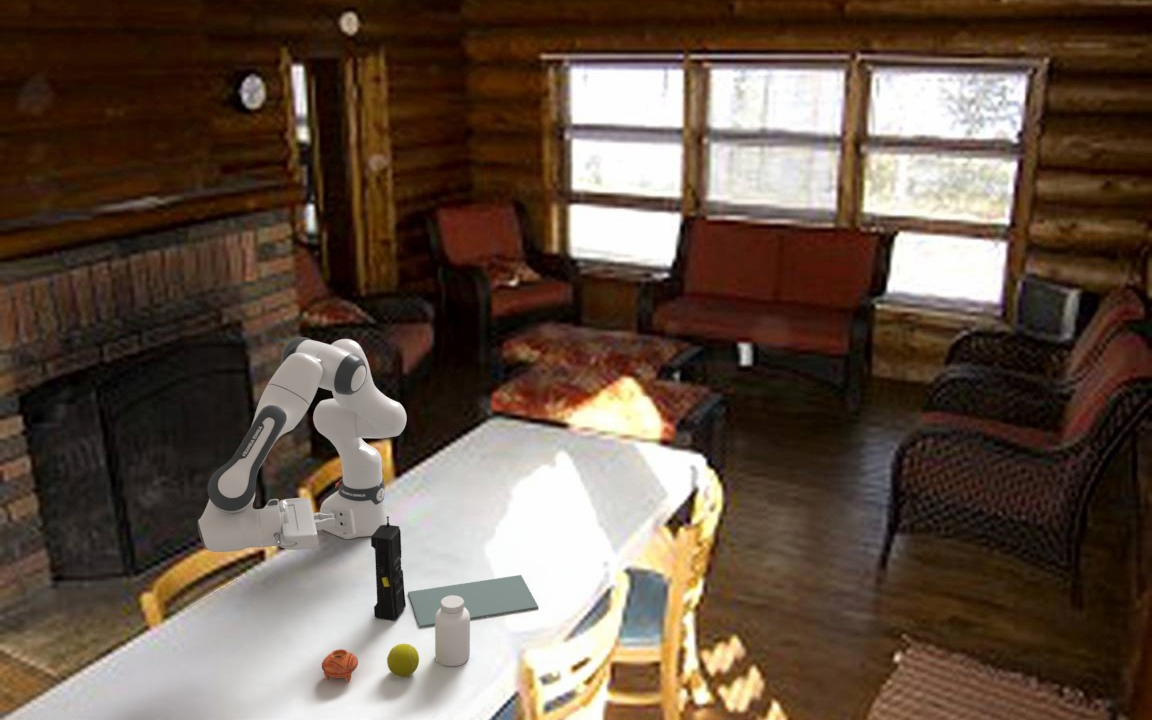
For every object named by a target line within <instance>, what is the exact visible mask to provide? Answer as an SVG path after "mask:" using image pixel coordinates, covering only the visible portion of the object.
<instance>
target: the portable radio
mask: <svg viewBox="0 0 1152 720" xmlns="http://www.w3.org/2000/svg"><path fill="white" fill-rule="evenodd" d="M386 518H387V525H380V526H379V528H378V529H377V530H376V531H375V533H374V534H373V535H371V536H370V546H371V547H372V548H373V549H374V560H375V578H376V579H375V580H376V581H375V583H376V604H375V605H374V606H373V615H374V618H375V619H379V620H384V621H392V622H394V621H396V620H398V619H399V617H400V616H401V614H402V613H403V612H404V610H405V608H406V607H407V602H406V595H405V594H406V593H405V582H404V571H403V569H402V536H401V535H402V534H401V529H400V526H399V525H391V522H390V523H389V521H390V519H389V518H390V516H388V515H387V517H386Z"/></svg>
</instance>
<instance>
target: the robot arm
mask: <svg viewBox="0 0 1152 720" xmlns="http://www.w3.org/2000/svg"><path fill="white" fill-rule="evenodd" d="M280 358H281V359H280V362H281V364H280V366H279V367H278V368H277V370H276V371H274V372H275V373H274V374H273V375H272V377H271V378H270V380H269V382H268V383H267V384H266V387H265V389H264V390H263V393H262V394H261V397H260V400H259V401H258V405H257V406H256V411H255V413H254V417H253V420H252V423H251V426H250V428H249V430H248V431H247V433H246V435H245V436H244V438H243V440H242V441H241V443H240V445H239V446H238V448H237V450H236V451H235V453H234V454H233V456H231V458H230V460H228V461H227V463H224V464H223V465H221V466H220V467H219V468H218V469H217V470H215V471H214V473H213V474H212V475H211V477H210V478H209V481H208V484H207V495H208V497H209V498H208V502H207V503H206V507H205V509H204V511H203V512H202V515H201V517H200V518H199V519H198V520H197V528H198V529H197V530H198V534H199V538H200V541H201V544H202V545H203V548H205V550H207V551H208V552H211V553H231V552H240V551H243V550H246V549H249V548H257V549H261V548H271V547H280V548H282V549H286V550H287V551H288V550H289V551H300V550H301V551H302V550H303V551H304V550H312V549H315V548H317V547H318V546H319V538H318V537H319V535H318V531H325V532H327V533H329V534H332V535H335V536H337V537H340V538H342V539H344V540H351V539H355V538H361V537H363V538H364V537H371V536H372V535H373V534H374V533H375V531H376V530H377V529H378V528H379V526H380V525H387V518H386V517H387V516H388V513H387V509H386V505H385V503H386V502H385V479H384V477H383V461H382V460H383V457H382V456H381V453H380V452H379V451H378V449H376V448H375V447H374V446H372V445H371V444H368V443H366V442H365V441H364V440H363V439H388V438H393V437H397V436H400V435H401V433H402V432H403V431H404V429H405V427H406V425H407V417H408V416H407V413H406V409H405V408H404V406H403V405H402V404H401V403H400V402H399V401H396V400H394V399H391V398H390V397H387V396H386V395H385V394H384V393H383V392H381V391H380V390H379V389H378V387H376V385H375V382H374V381H373V380H374V379H373V377H372V373H371V368H370V364H369V362H368V358H367V357H366V354H365V352H364V350H363V348H362V346H361V345H360V344H359V343H358V342H357V341H355V340H352V339H350V338H341V339H338V340H336V341H334V342H332V343H331V344H329V343H324V342H321V341H317V340H313V339H311V338H309V337H302V336H299V337H298V336H297V337H295V338H292V339H291V340H290V341H289V342H287V344H286V345H285V346H284V348H283V350H282V353H281V355H280ZM318 388H321V389H324V390H327V391H331V393H332V395H333V398H327V399H323V400H320V401H319V402H318V404H317V405H316V407H315V409H314V411H313V416H312V420H313V424H314V427H315V429H316V430H317V432H318V433H319V434H321V435H322V436H323V437H325V438H326V439H328V441H330V443H332V445H333V446H334V447H335V449H336V451H337V453H338V455H339V458H340V463H341V470H342V478H341V479H340V480H339V481H338V482H337V483H335V484H334V486H335V489H336V488H338V487H339V489H338V490H337V491H335V492H334V493H332V494H331V495H329V496H328V497H326V498H325V500H323V502H322V503H321V505H320V510H319V512H314V510H313V507H312V505H313V504H312V501H311V499H310V498H308V497H295V498H285V499H281V500H279V499H278V498H273V499H269V500H268V501H267V504H266V505H265V506H264V507H263V508H259V509H257V508H256V509H255V508H254V507H253V506H254V501H255V498H256V489H257V478H258V477H257V476H258V474H259V470H260V468H261V467H262V465H263V463H264V461H265V460H266V459H267V456H268V454H269V452H270V451H271V449H272V448H273V446H274V445H275V443H276V442H277V441H278V440H279V438H281V437H282V436H283V435H285V434H286V433H288V432H291V431H292V430H294V429H295V428H296V426H297V425H298V424H299V423H300V422H301V420H302V419H303V417H304V416H305V415H306V414H307V412H308V410H309V408H310V406H311V404H312V402H313V400H314V398H315V397H316V394H317V391H318ZM389 523H390V524H391V522H390V520H389Z"/></svg>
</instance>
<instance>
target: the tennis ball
mask: <svg viewBox="0 0 1152 720" xmlns="http://www.w3.org/2000/svg"><path fill="white" fill-rule="evenodd" d="M386 660H387V661H386V662H387V668H388V669H389V671H390V673H392V674H393V676H396V677H399V678H403V677H404V678H406V677H408V676H412V674H414V672H415V671H417V668H418V666H419V662H420V657H419V652H418V651H417V649H416V647H414V646H413V645H412V644H408V643H399V644H397V645H395V646H393V647H392V648H391V649H390V651H389V653H388V655H387V659H386Z"/></svg>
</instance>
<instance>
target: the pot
mask: <svg viewBox="0 0 1152 720" xmlns="http://www.w3.org/2000/svg"><path fill="white" fill-rule="evenodd" d="M358 665H359V659H358V657H357V656H356V655H354V654H353V653H352V652H349V651H347V650H346V649H342V648H341V649H336V650H333V651H332V652H331V653H329V654H328V655H327V656H325V658H324V659H323V660H322V662H321V670H322V672H323V675H324V677H325V679H326V680H329V679H330V677H331V678H333V679H334V678H335V679H341V678H345V679H346V682H347V683H350V682H351V680H352V673H353V672H354V671H355V670H356V669H357V667H358Z"/></svg>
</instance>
